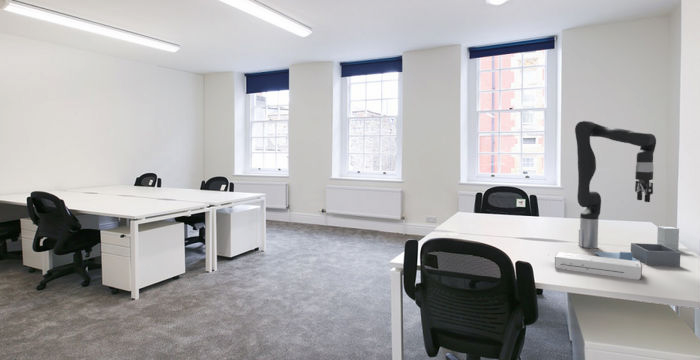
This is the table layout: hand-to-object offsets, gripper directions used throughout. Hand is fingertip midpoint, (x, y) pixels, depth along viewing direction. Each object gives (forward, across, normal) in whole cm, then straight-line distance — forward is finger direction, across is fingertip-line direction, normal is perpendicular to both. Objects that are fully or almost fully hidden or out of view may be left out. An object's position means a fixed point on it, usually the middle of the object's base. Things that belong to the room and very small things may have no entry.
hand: (643, 201), depth 206 cm
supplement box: (+30, -22, +22) cm, 43 cm away
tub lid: (+30, +11, -15) cm, 36 cm away
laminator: (+31, +34, -32) cm, 56 cm away
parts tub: (+30, +9, +2) cm, 31 cm away
